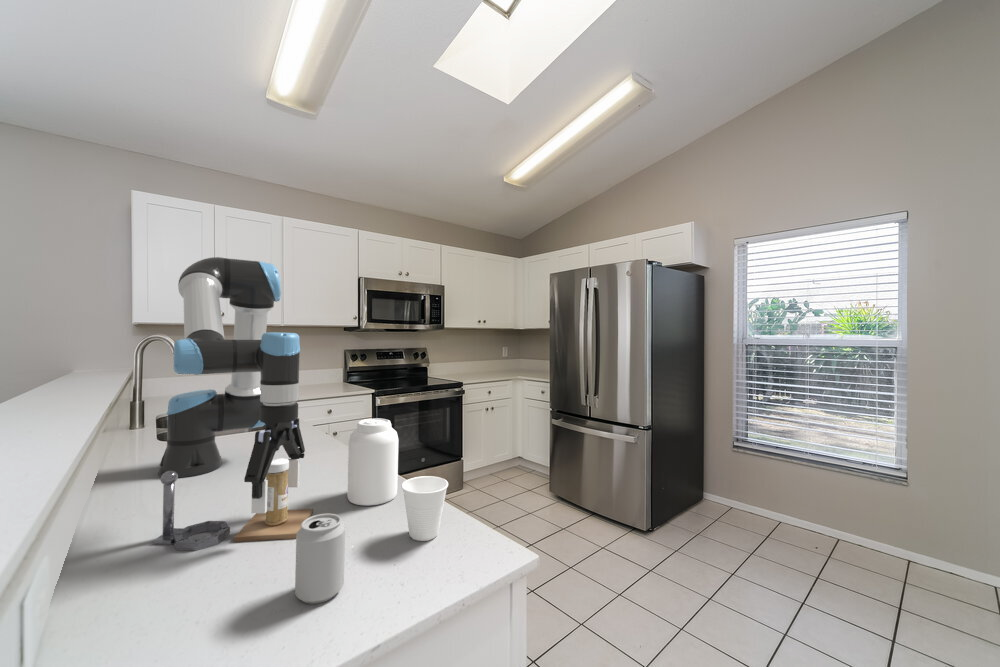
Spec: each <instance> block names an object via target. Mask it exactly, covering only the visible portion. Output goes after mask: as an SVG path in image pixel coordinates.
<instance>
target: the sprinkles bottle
mask: <svg viewBox="0 0 1000 667" xmlns="http://www.w3.org/2000/svg"><path fill="white" fill-rule="evenodd" d="M288 459H289V458H282V457H281V458H273V460H272V462H271V465H270V468H269V470H268V473H267V475H266V478H265V480H268V487H267V512H266V520H265V523H266V524H267V525H270V526H274V525H280V524H282V523H284V522H286V521H287V520H288V510H289V506H288V505H289V487H288V469H289V460H288Z"/></svg>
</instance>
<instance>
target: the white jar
mask: <svg viewBox="0 0 1000 667" xmlns="http://www.w3.org/2000/svg"><path fill="white" fill-rule="evenodd" d="M356 424H357V425H356V429H355V430H353V432H351V433H350V436H349V438H348V458H347V459H348V462H347V499H348V501H349V503H352V504H354V505H358V506H367V507H368V506H378V505H382V504H386V503H388V502H390V501H392V500H393V499H394V498H396V497H397V494H398V478H399V476H398V475H399V439H400V438H399V436H398V432H397V431H396V430H395V429H394V428H393V427H392V423H391V420H389V419H386V418H381V417H380V418H377V417H375V418H374V417H373V418H365V419H362V420H360V421H358V422H357V423H356Z"/></svg>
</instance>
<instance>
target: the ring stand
mask: <svg viewBox="0 0 1000 667" xmlns="http://www.w3.org/2000/svg"><path fill="white" fill-rule="evenodd" d="M178 478H179V477H178V474H177V473H176V472H175V471H167V472H165V473H164V474H163V475H162V476H160V482H161V484H162V485H163V488H162V489H163V493H162V494H163V496H162V499H163V500H162V533H161V535H159V536H158V537H156V538H155V539H153V540H152V545H161V546H163V545H167V546H171V545H174V549H175V550H176V551H188V552H189V551H190V552H191V551H193V552H195V551H199V550H203V549H206V548H209V547H213V546H216V545H219V544H220V543H221V542H223V541H224V540H225V539H226V538H228V537H229V536H230V535H231V526H230V525H229V524H228V523H227V521H224V520H207V521H203V522H199V523H196V524H192V525H191V524H190V525H188V526H185V527H184V528H177V527H176V528H175V493H176V492H175V491H176V490H175V489H176V488H175V483H176V482H177V480H178ZM205 532H216V533H214V534H212V535H207V536H205V537H201V538H197V539H196V538H195V539H193V538H190V537H191V536H194V535H197V534H201V533H205Z"/></svg>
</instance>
